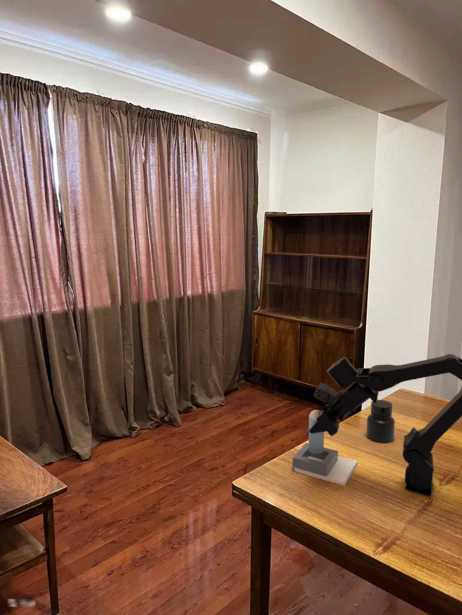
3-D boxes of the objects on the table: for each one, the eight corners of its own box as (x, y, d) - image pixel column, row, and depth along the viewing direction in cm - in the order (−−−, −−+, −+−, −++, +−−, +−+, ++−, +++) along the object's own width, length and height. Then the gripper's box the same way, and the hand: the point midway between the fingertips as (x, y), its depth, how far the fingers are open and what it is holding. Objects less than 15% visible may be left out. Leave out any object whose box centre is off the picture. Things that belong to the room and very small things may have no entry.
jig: (357, 464, 133) (357, 452, 133) (344, 485, 122) (345, 472, 122) (307, 451, 141) (308, 439, 141) (292, 470, 130) (292, 458, 130)
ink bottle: (400, 438, 149) (402, 405, 147) (383, 446, 144) (385, 411, 142) (376, 428, 157) (378, 396, 155) (359, 434, 152) (361, 402, 150)
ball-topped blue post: (326, 451, 131) (327, 411, 128) (315, 455, 128) (316, 414, 126) (316, 445, 134) (317, 406, 132) (305, 449, 132) (306, 409, 130)
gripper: (337, 367, 134) (300, 396, 140) (325, 387, 117) (284, 420, 123) (362, 395, 132) (325, 423, 139) (354, 420, 116) (312, 451, 122)
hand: (311, 428), depth 131 cm, fingers closed on ball-topped blue post, 4 cm apart
